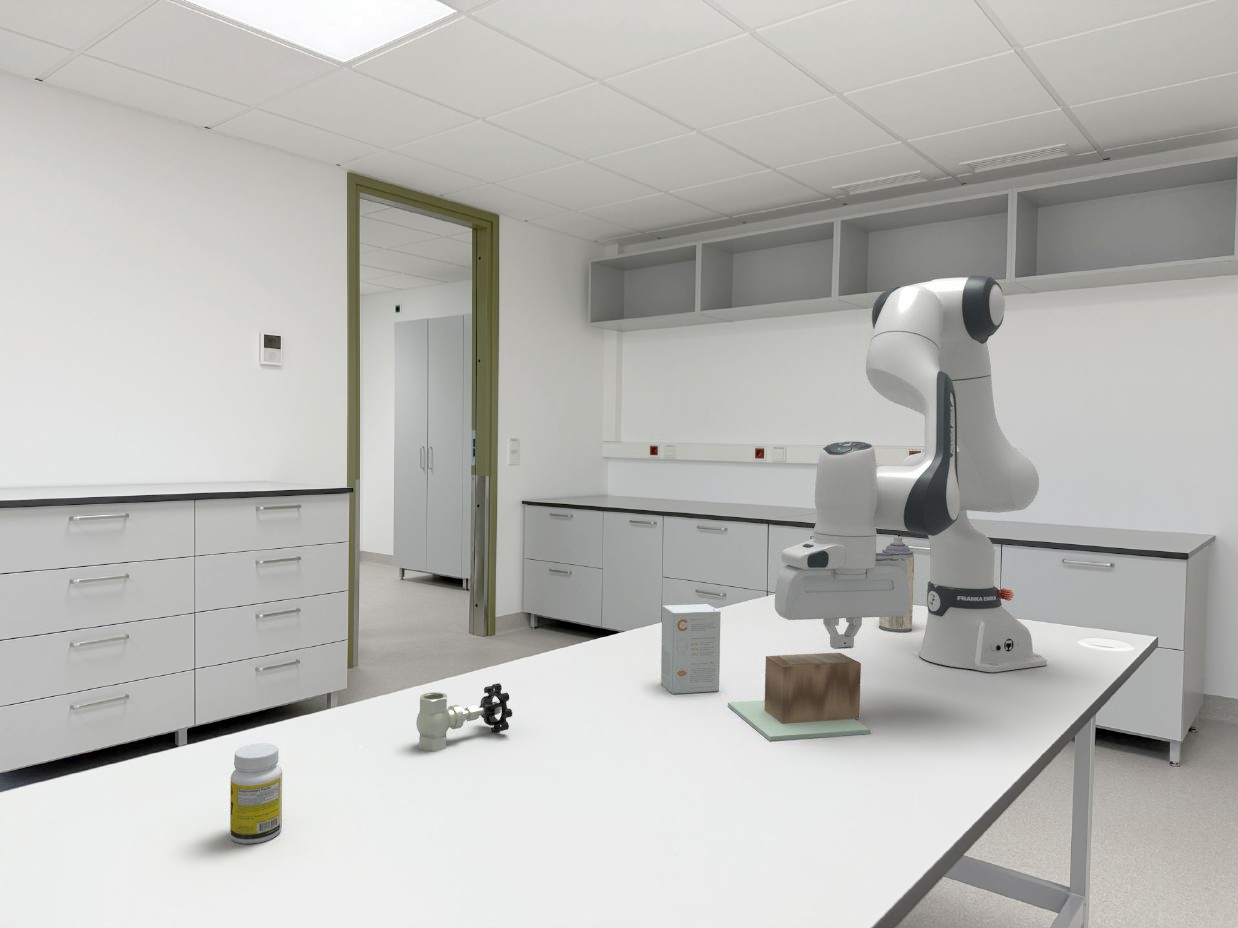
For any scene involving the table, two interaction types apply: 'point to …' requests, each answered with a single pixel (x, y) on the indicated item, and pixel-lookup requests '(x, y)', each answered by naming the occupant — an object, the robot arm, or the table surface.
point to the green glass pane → (793, 724)
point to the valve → (458, 716)
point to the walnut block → (812, 687)
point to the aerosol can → (906, 621)
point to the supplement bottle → (256, 794)
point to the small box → (690, 648)
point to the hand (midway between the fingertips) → (841, 647)
